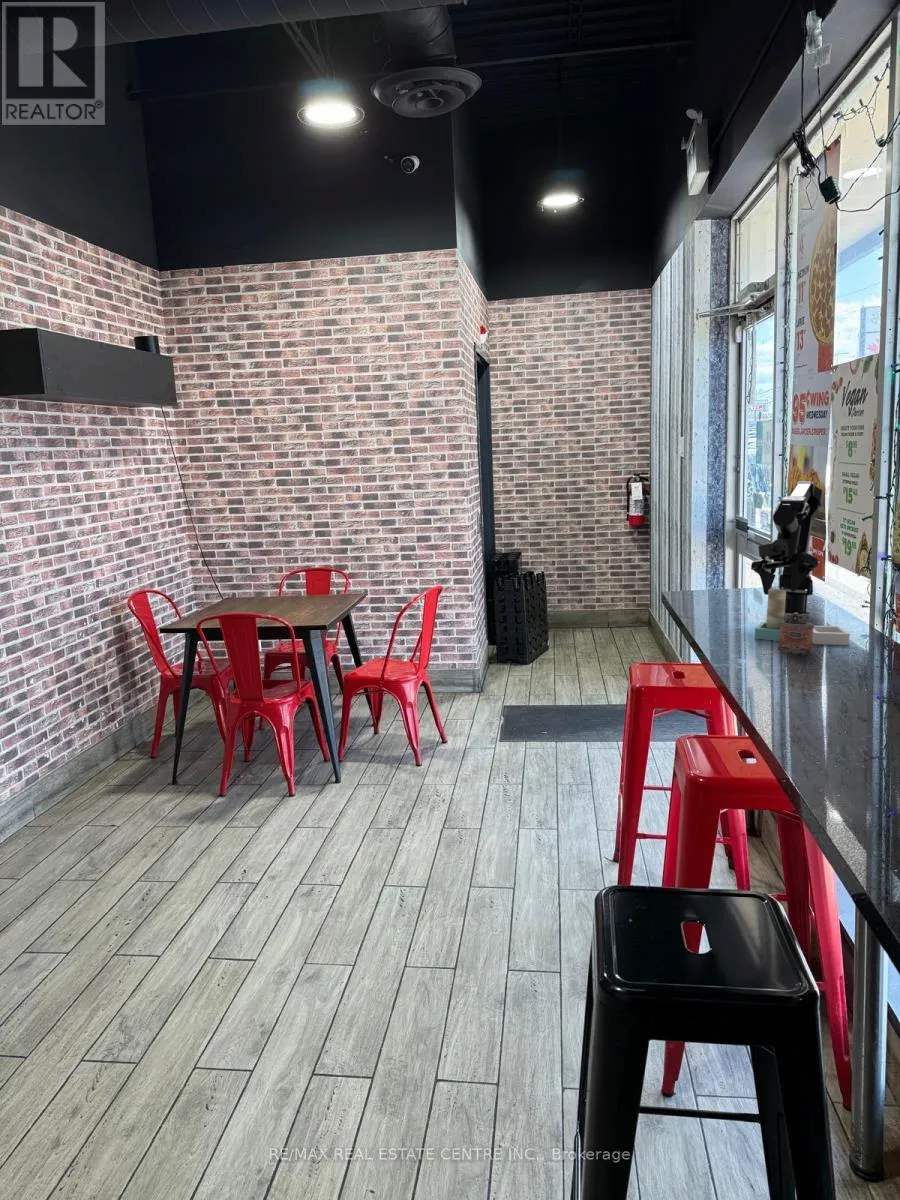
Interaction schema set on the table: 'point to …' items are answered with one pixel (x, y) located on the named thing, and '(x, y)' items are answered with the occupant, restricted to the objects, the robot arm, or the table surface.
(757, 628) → the teal socket
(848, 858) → the table surface
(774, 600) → the peg
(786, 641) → the lighter
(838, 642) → the grey socket
